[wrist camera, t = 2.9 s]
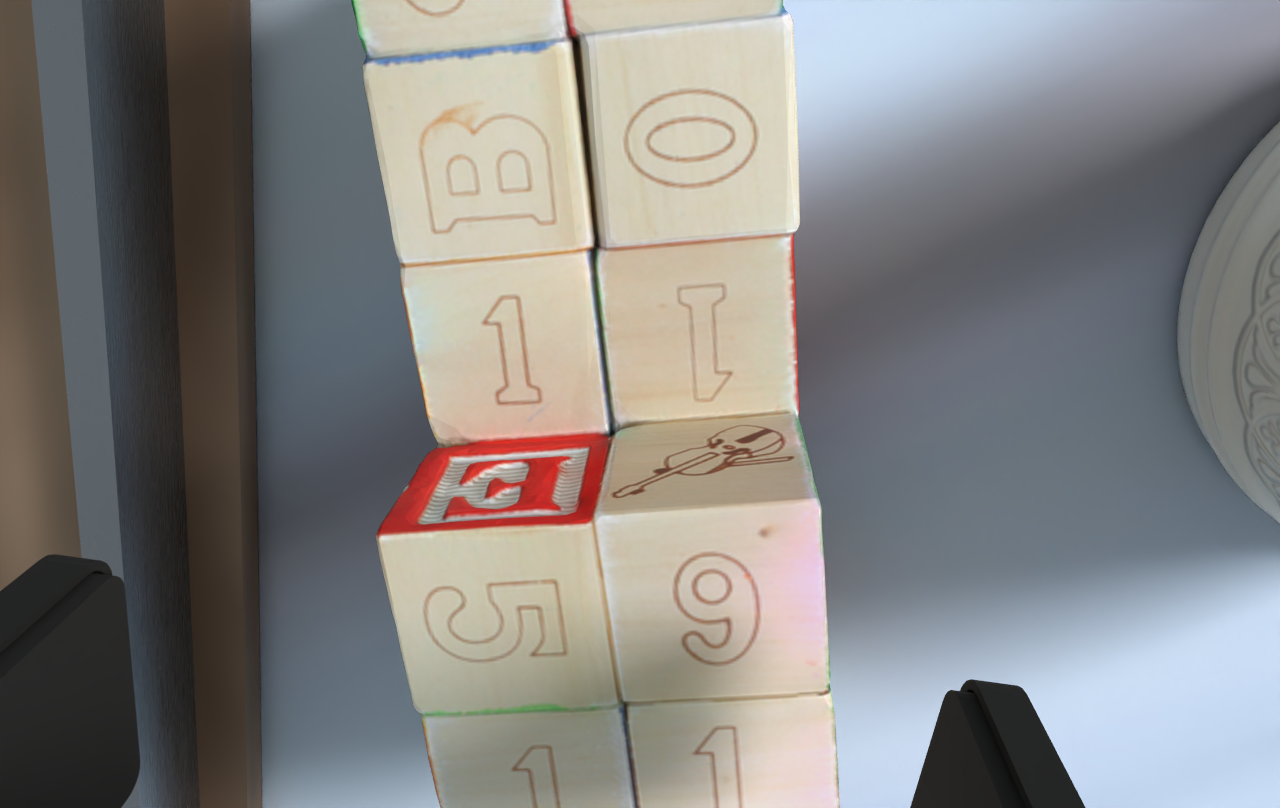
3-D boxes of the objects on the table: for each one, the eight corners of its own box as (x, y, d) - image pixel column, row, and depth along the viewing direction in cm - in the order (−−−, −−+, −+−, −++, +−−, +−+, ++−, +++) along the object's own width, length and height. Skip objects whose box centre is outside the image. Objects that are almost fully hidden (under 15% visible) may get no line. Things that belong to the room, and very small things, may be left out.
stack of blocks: (473, -88, 21) (194, -277, 9) (753, -119, 20) (821, -359, 9) (577, 702, 28) (492, 1147, 17) (787, 695, 28) (850, 1150, 16)
